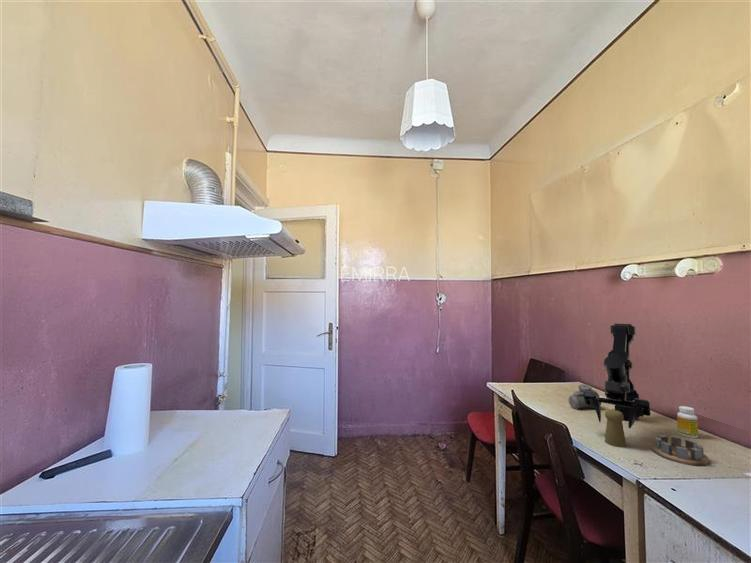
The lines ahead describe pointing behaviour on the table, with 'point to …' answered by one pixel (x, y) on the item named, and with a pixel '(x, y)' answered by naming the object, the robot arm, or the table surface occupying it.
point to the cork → (615, 429)
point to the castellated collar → (681, 452)
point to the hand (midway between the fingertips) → (614, 424)
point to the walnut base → (679, 460)
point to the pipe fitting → (580, 397)
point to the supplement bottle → (687, 422)
